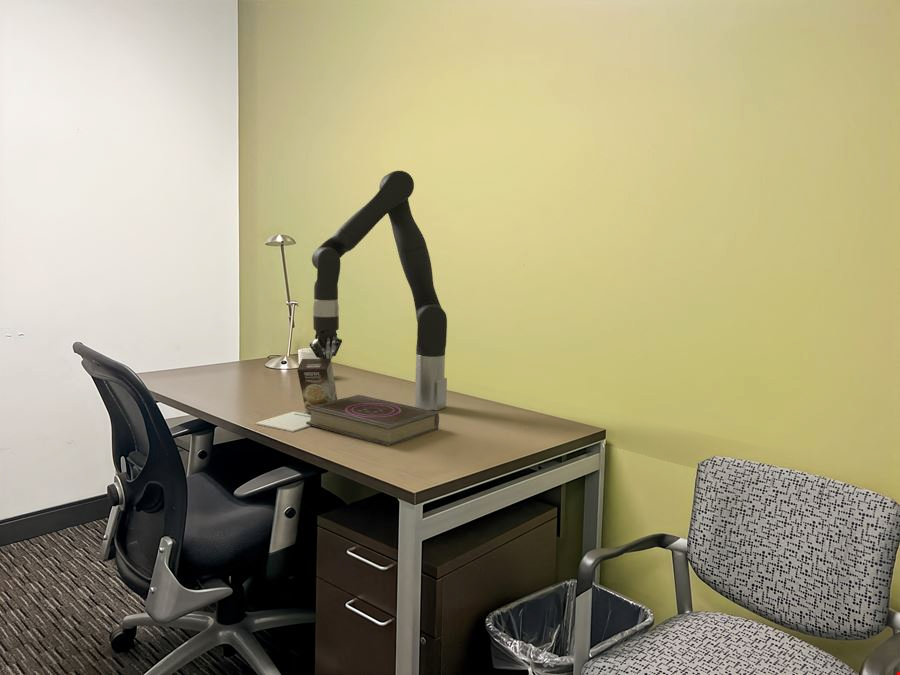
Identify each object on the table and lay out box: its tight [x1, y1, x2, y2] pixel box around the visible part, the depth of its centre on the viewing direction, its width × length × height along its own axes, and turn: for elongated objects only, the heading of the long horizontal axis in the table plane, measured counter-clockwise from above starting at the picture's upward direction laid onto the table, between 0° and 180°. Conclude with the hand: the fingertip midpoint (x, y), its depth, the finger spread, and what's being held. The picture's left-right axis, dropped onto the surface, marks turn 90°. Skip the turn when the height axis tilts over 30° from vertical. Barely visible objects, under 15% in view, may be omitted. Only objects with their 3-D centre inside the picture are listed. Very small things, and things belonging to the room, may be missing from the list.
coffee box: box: [296, 359, 339, 415], centre depth 208 cm, size 9×6×16 cm
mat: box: [255, 411, 313, 433], centre depth 200 cm, size 14×16×1 cm
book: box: [306, 394, 440, 447], centre depth 197 cm, size 30×22×5 cm
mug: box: [297, 347, 320, 365], centre depth 264 cm, size 11×9×10 cm
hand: (326, 371), depth 210 cm, fingers closed
